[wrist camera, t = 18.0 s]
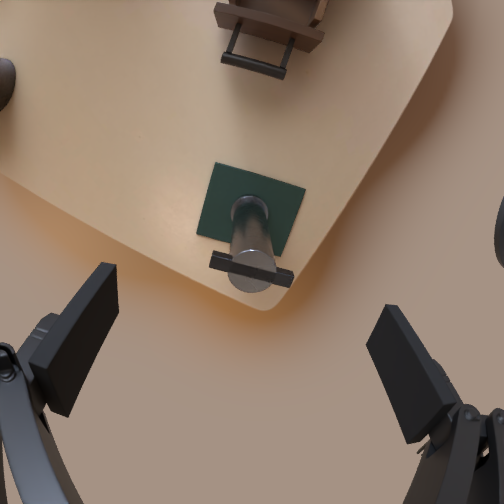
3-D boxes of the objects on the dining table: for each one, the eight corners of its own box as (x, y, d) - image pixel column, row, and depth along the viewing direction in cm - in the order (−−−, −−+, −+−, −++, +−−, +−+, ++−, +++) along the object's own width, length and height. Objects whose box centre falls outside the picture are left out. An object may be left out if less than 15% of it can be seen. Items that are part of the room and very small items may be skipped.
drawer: (296, 89, 32) (307, 84, 26) (205, 63, 30) (197, 53, 25) (334, -20, 25) (349, -39, 19) (249, -45, 23) (250, -68, 17)
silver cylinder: (280, 202, 39) (302, 257, 24) (269, 235, 40) (282, 305, 26) (228, 187, 38) (217, 234, 23) (218, 221, 39) (203, 285, 25)
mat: (305, 189, 38) (305, 189, 38) (280, 255, 42) (280, 256, 42) (215, 162, 36) (215, 162, 36) (196, 233, 41) (196, 234, 40)
